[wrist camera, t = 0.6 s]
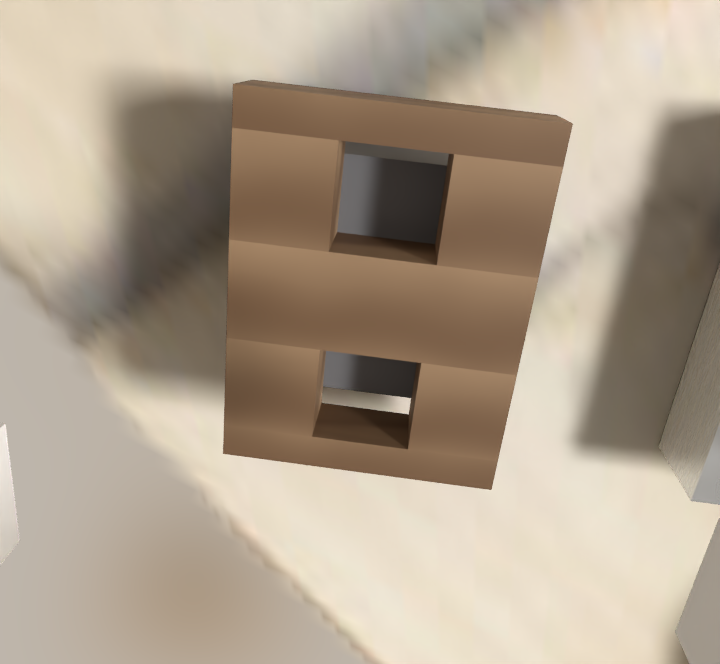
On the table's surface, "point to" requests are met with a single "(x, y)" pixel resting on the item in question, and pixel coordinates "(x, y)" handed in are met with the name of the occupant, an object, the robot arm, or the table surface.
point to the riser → (386, 220)
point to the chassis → (698, 411)
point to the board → (381, 280)
